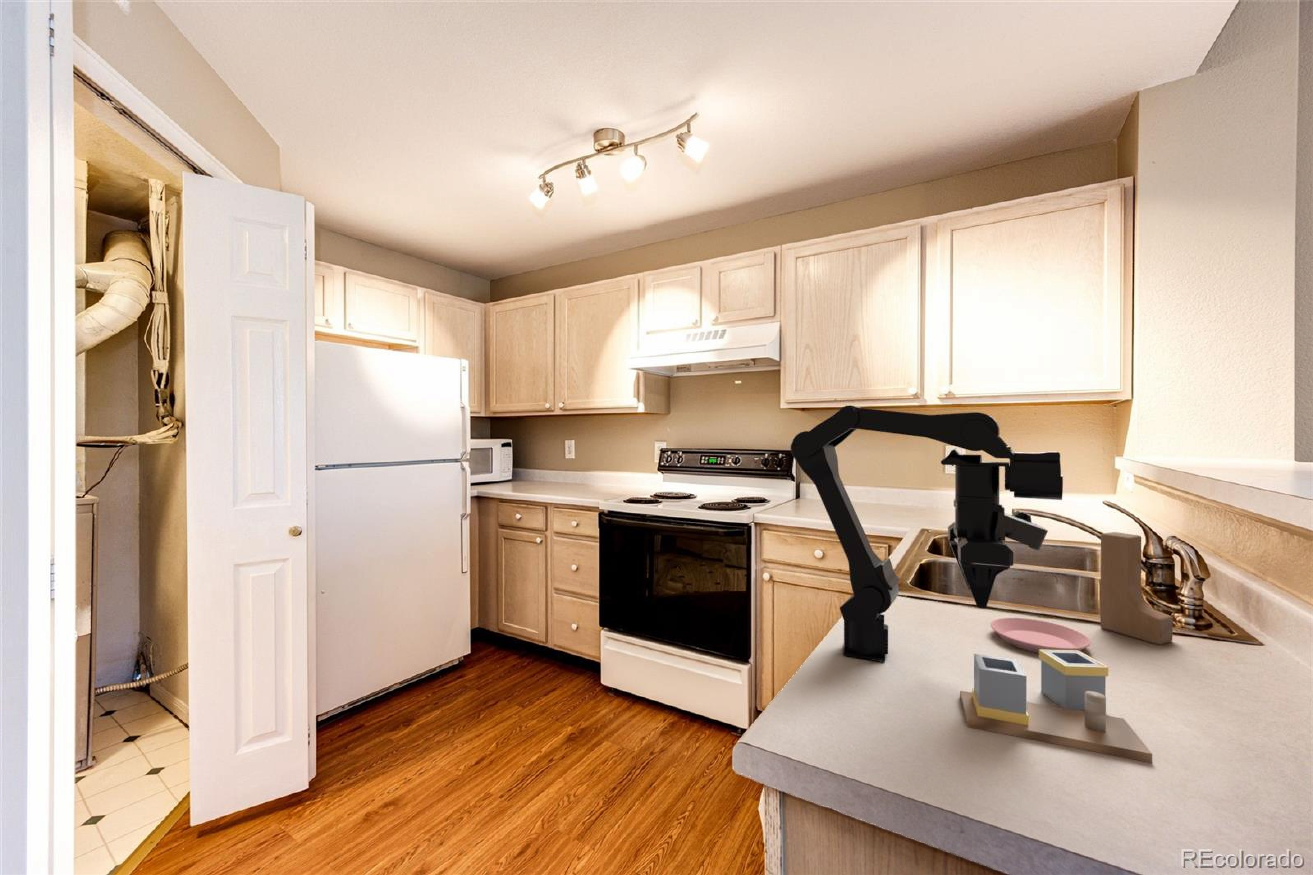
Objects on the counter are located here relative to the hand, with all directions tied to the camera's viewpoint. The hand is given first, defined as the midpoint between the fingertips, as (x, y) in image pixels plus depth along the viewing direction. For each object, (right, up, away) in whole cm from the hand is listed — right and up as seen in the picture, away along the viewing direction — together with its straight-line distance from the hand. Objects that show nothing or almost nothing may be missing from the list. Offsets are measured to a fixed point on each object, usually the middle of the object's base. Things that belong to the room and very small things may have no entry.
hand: (976, 598), depth 80 cm
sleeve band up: (+9, -12, -7) cm, 17 cm away
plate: (+19, -12, +13) cm, 26 cm away
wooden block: (+39, -12, +17) cm, 44 cm away
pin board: (+1, -12, -13) cm, 18 cm away
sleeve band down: (-4, -11, -11) cm, 16 cm away
